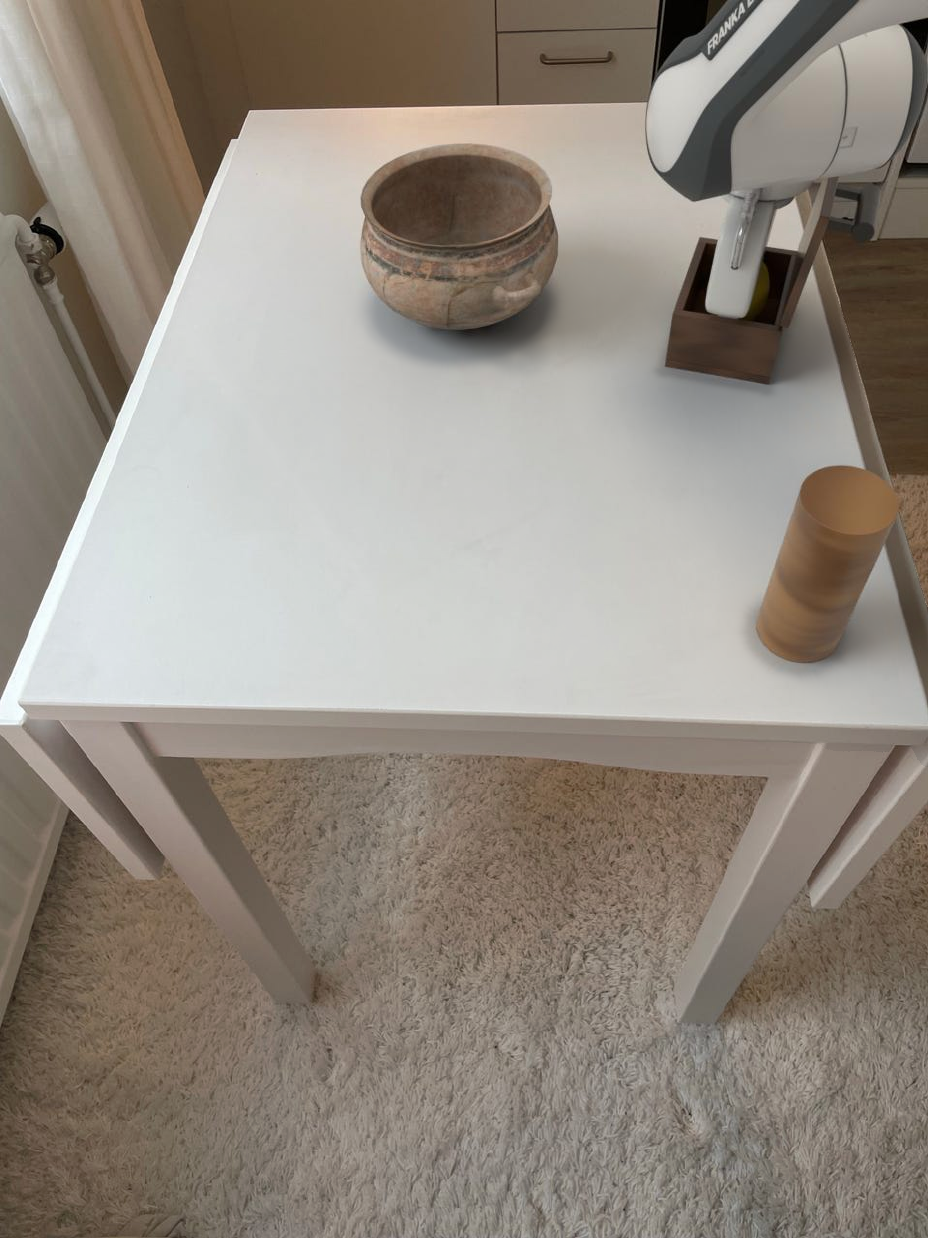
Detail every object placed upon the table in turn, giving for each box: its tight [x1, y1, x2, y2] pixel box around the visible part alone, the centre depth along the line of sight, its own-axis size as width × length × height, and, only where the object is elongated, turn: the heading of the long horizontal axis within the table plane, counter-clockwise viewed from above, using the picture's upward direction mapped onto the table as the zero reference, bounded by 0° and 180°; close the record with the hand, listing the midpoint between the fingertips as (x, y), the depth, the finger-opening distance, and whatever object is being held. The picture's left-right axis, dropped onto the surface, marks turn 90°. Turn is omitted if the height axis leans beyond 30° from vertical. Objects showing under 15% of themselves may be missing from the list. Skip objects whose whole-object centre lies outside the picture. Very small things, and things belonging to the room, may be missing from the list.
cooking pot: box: [359, 143, 559, 331], centre depth 92 cm, size 25×19×12 cm
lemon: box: [706, 262, 769, 322], centre depth 88 cm, size 6×6×8 cm
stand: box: [755, 464, 900, 664], centre depth 65 cm, size 6×6×14 cm
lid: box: [779, 176, 882, 329], centre depth 81 cm, size 10×13×5 cm
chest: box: [664, 236, 798, 385], centre depth 90 cm, size 10×13×6 cm
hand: (734, 297), depth 89 cm, fingers closed on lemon, 5 cm apart
